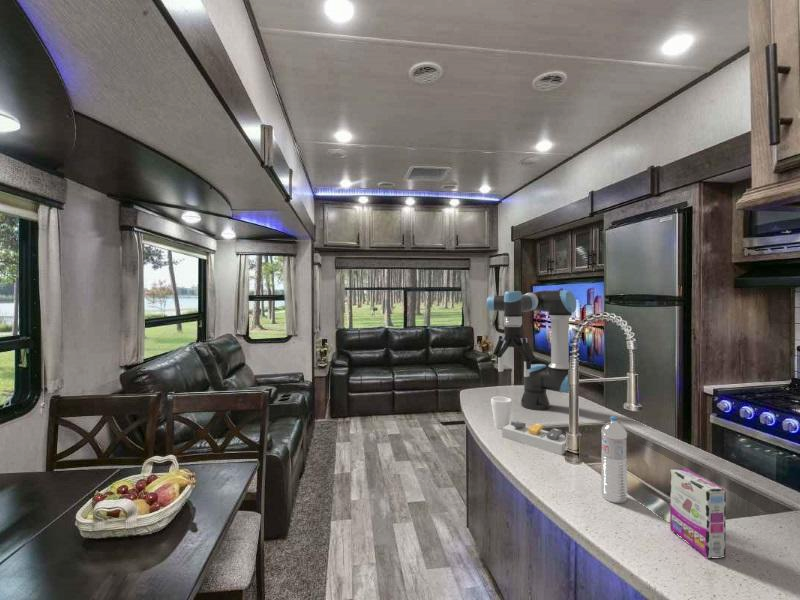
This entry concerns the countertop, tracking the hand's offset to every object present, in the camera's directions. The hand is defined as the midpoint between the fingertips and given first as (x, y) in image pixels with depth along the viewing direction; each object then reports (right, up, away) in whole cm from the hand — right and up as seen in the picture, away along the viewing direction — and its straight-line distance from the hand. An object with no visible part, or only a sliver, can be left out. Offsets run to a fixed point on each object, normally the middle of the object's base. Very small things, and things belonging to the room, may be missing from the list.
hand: (513, 373), depth 163 cm
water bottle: (+15, -28, -50) cm, 60 cm away
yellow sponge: (+7, -22, -7) cm, 24 cm away
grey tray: (+10, -28, -10) cm, 31 cm away
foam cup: (-2, -28, +12) cm, 30 cm away
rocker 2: (+13, -22, -13) cm, 28 cm away
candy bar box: (+24, -29, -71) cm, 80 cm away
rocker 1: (+2, -22, -1) cm, 22 cm away
